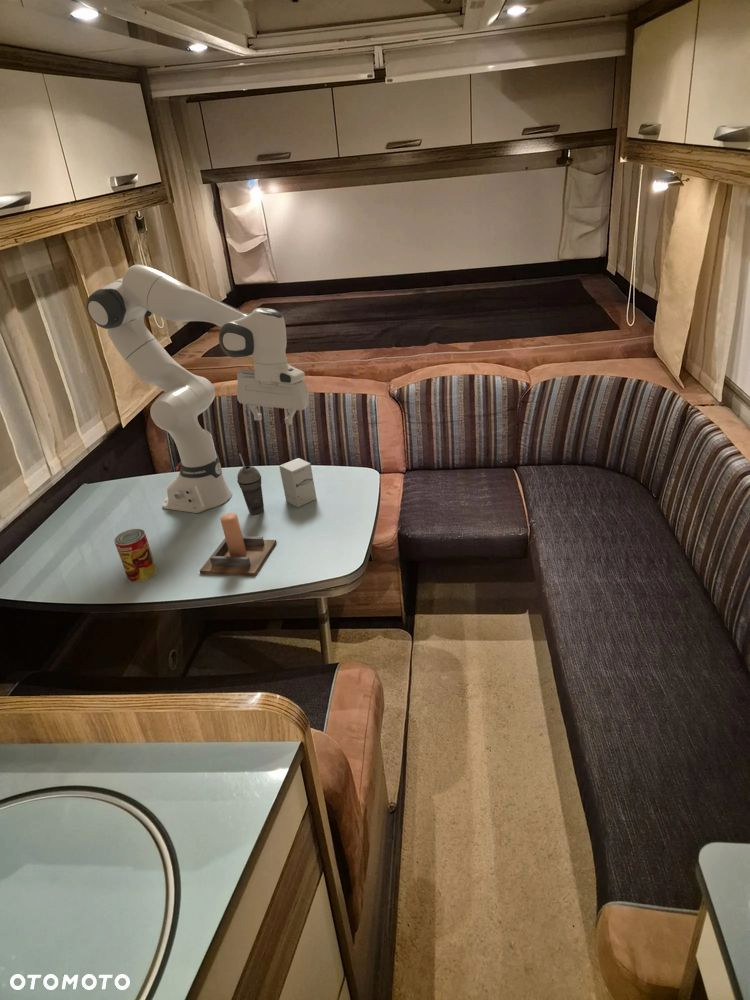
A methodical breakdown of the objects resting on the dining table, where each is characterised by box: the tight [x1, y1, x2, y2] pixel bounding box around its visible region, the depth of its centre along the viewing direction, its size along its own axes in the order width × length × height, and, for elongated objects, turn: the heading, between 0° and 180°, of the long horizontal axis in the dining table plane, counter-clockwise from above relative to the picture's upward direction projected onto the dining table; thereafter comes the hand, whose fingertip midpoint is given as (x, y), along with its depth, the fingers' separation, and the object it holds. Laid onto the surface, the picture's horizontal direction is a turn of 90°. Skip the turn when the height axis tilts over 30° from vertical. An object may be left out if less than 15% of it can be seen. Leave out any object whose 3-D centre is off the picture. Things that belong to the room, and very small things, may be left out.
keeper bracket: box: [199, 535, 277, 577], centre depth 175 cm, size 16×16×4 cm
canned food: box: [113, 528, 158, 583], centre depth 172 cm, size 8×8×12 cm
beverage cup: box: [236, 453, 265, 517], centre depth 193 cm, size 7×7×20 cm
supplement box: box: [278, 457, 317, 508], centre depth 199 cm, size 7×7×13 cm
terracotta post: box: [220, 512, 247, 557], centre depth 173 cm, size 4×4×12 cm
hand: (273, 422), depth 176 cm, fingers open, 8 cm apart
